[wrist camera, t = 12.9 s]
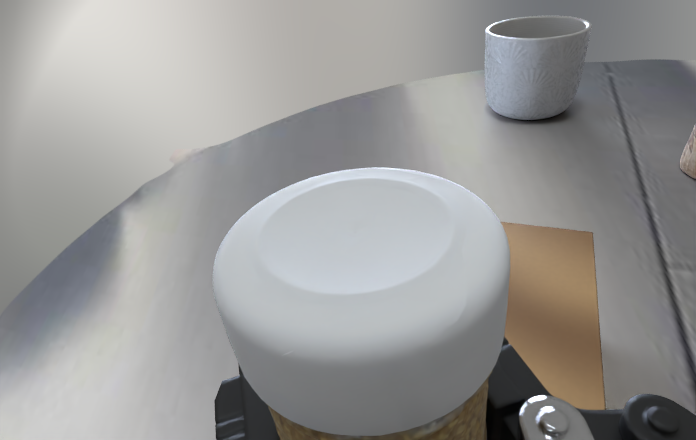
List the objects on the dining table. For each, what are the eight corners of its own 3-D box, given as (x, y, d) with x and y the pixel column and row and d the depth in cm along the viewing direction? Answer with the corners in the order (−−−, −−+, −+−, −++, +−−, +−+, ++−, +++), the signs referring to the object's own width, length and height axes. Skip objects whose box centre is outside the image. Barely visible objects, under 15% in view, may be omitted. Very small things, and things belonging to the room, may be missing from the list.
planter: (502, 133, 57) (510, 44, 51) (468, 101, 67) (471, 24, 61) (596, 118, 57) (614, 28, 51) (547, 88, 68) (558, 11, 62)
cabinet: (572, 564, 20) (610, 474, 16) (320, 473, 25) (292, 383, 20) (570, 325, 31) (593, 231, 26) (395, 293, 36) (389, 208, 31)
